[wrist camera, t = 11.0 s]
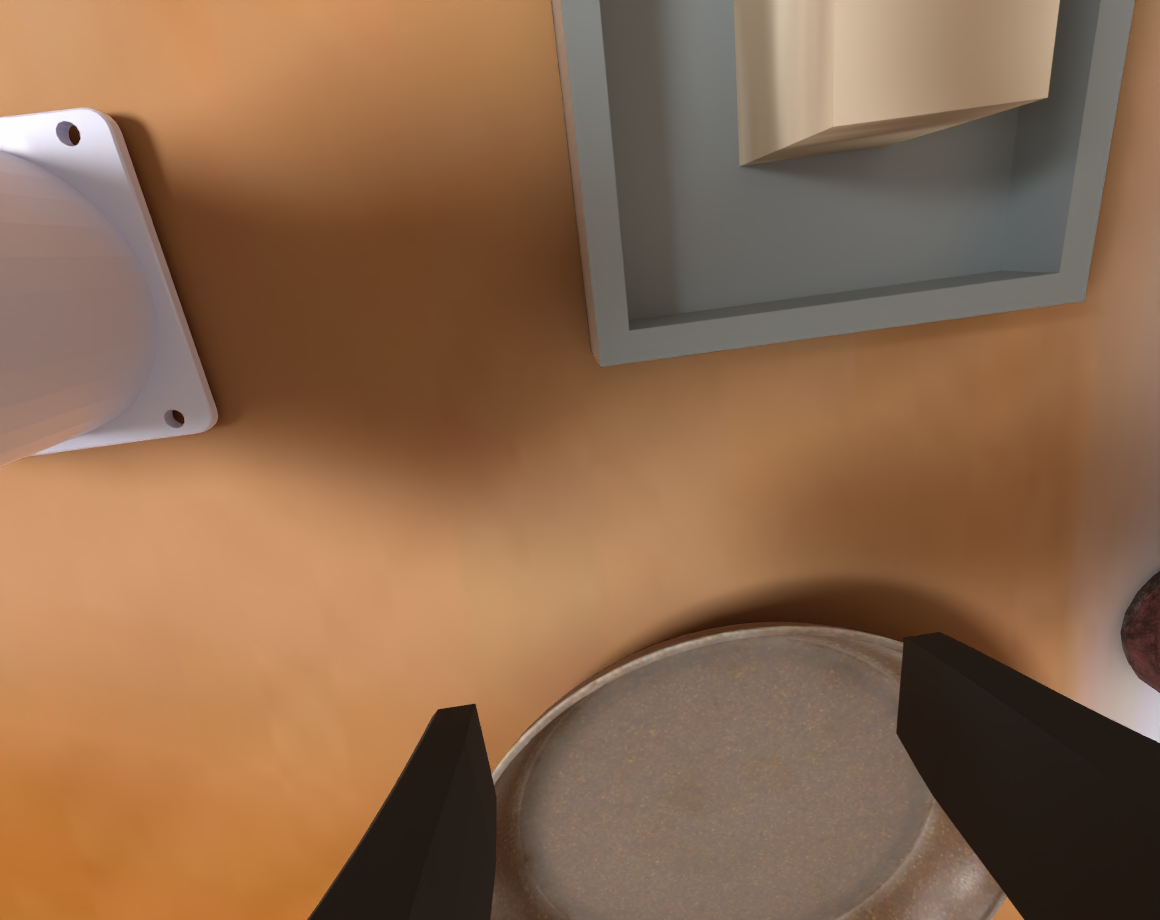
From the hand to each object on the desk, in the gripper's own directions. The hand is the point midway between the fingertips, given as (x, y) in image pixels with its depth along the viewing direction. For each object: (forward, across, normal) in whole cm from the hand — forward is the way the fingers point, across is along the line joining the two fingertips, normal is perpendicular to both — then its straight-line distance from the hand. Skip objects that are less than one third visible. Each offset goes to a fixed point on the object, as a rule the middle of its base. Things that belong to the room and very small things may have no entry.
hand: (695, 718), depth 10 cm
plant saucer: (+10, -3, +14) cm, 17 cm away
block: (+9, -6, -11) cm, 15 cm away
